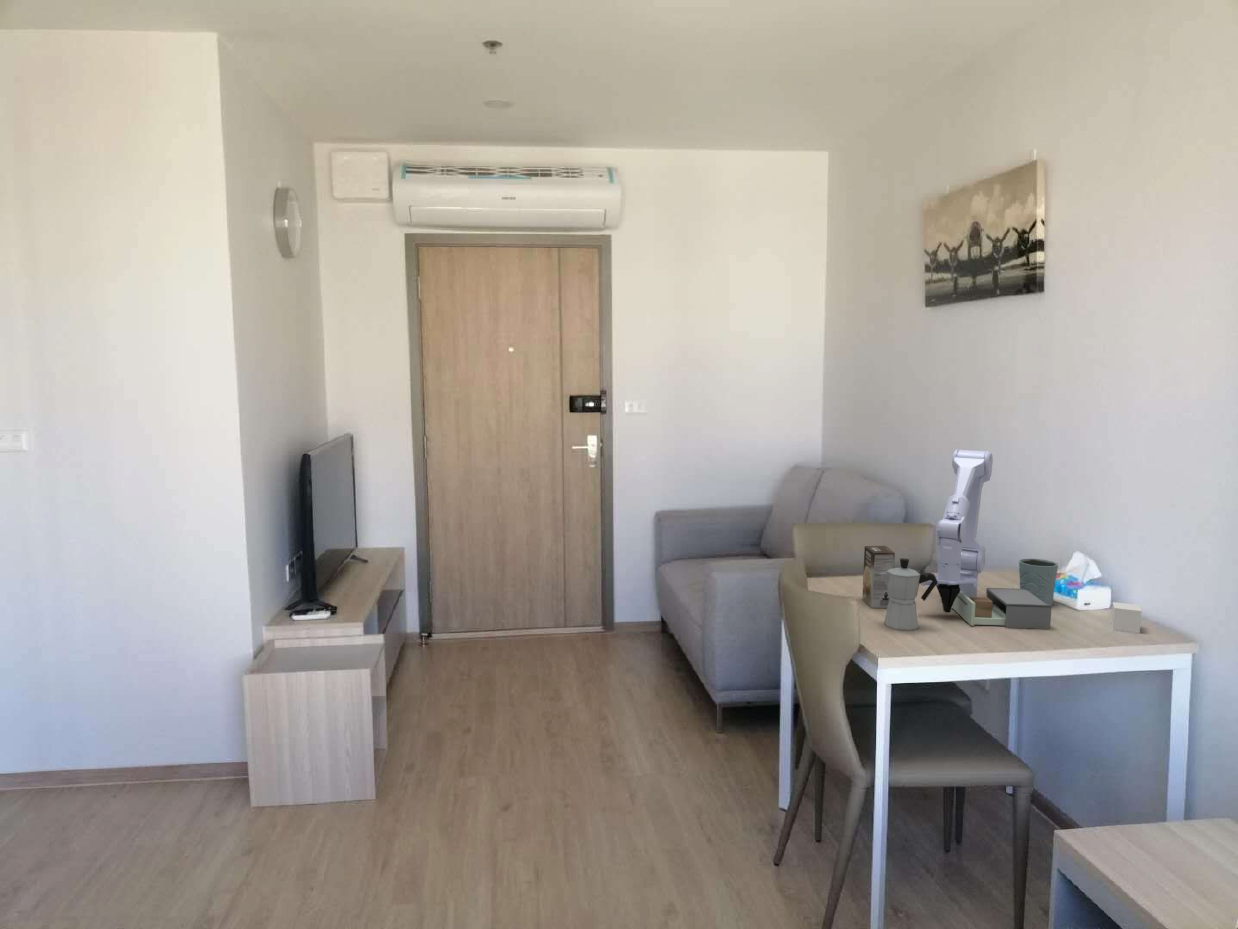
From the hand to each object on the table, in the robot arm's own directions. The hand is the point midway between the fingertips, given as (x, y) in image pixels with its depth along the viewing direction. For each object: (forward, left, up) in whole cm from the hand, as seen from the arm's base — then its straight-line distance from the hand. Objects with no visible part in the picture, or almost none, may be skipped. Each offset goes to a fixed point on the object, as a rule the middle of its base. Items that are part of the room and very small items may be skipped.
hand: (946, 611), depth 228 cm
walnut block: (+1, +9, -1) cm, 9 cm away
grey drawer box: (+1, +18, -1) cm, 18 cm away
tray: (+1, +10, -1) cm, 10 cm away
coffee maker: (+10, -13, -2) cm, 16 cm away
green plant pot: (-16, +30, -2) cm, 34 cm away
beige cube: (+6, +44, -2) cm, 44 cm away
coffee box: (-10, -16, -2) cm, 19 cm away
